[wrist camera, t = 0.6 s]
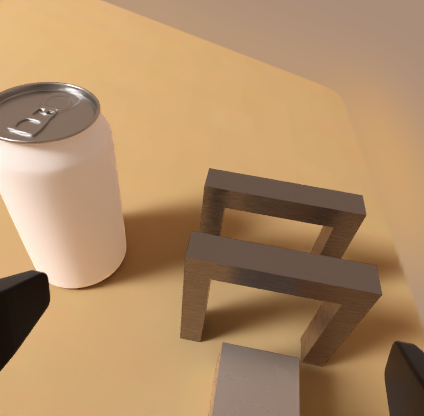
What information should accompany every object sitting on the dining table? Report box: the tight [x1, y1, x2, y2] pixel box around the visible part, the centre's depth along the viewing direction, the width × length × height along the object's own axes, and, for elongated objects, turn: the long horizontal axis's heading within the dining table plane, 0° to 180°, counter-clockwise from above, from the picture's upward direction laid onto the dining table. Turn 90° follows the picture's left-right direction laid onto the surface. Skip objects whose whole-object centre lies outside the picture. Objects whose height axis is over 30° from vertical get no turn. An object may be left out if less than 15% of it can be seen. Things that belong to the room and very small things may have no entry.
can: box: [0, 82, 126, 288], centre depth 22 cm, size 6×6×12 cm
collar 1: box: [200, 168, 366, 259], centre depth 23 cm, size 2×9×9 cm, turn 81°
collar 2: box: [180, 231, 382, 367], centre depth 20 cm, size 2×9×9 cm, turn 80°
